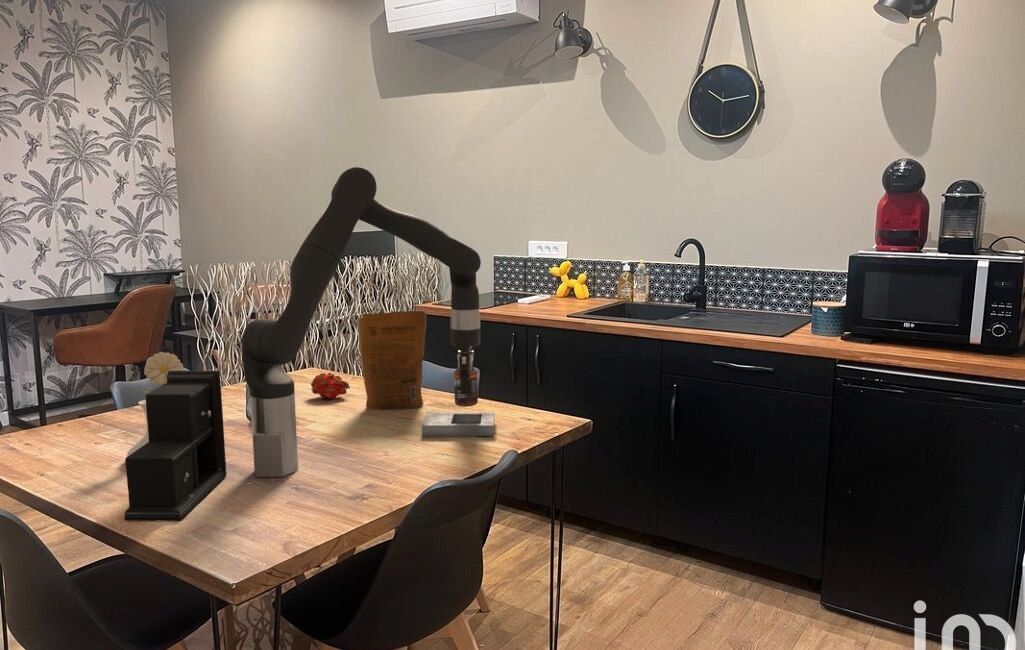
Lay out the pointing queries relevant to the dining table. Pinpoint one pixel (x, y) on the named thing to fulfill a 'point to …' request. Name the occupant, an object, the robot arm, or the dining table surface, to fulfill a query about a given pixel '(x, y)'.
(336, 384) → the dragon fruit
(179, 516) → the black drawer cabinet
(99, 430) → the dining table surface
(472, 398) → the supplement bottle
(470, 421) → the grey block with hole
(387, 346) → the pancake mix bag
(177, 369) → the flower in vase
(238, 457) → the dining table surface
